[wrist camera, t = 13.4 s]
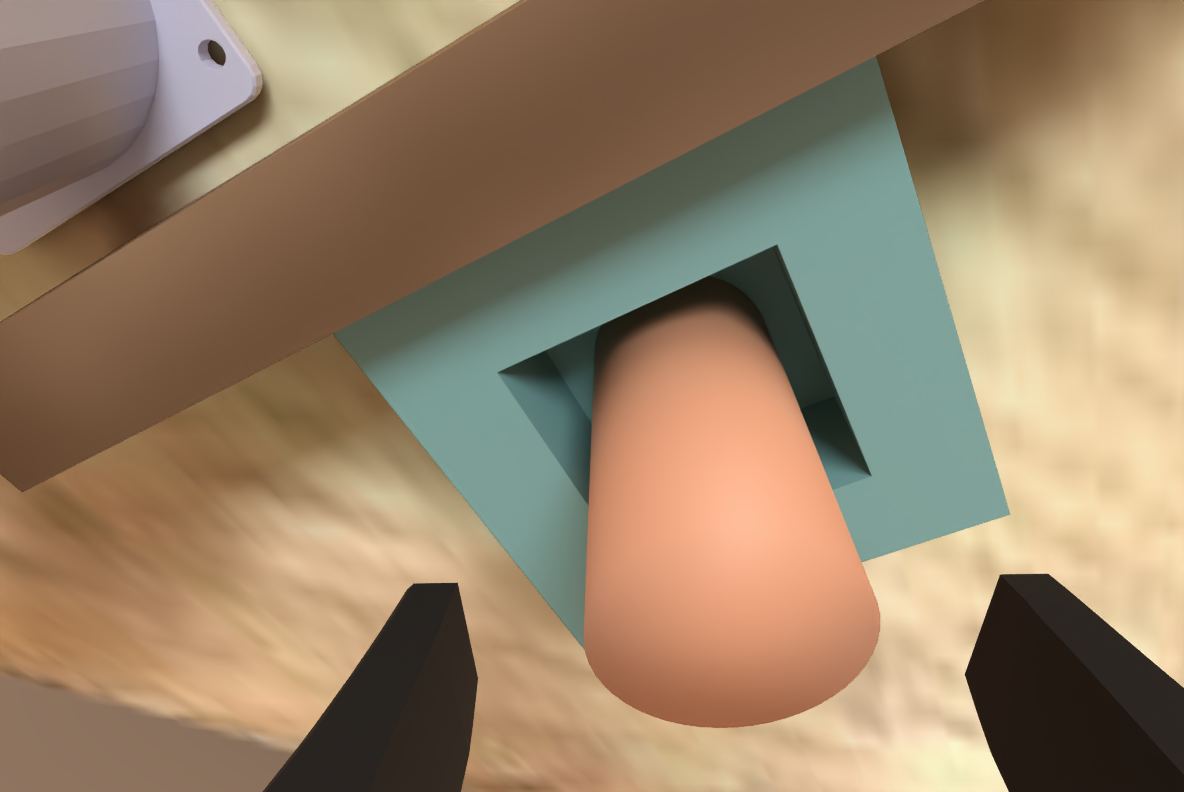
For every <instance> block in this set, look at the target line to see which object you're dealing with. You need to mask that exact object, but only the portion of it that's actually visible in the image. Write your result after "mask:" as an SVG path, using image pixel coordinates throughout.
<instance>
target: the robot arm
mask: <svg viewBox="0 0 1184 792" xmlns="http://www.w3.org/2000/svg"><path fill="white" fill-rule="evenodd" d="M210 40H213V41H216V42H217V43H218V44H219V45H220V46H221V47H222V48H223V50H224V52H225V54H226V63H225V64H224V65H223V66H222V65H219V64H217V63H216V62H215V61H214V60H212V59H211V57H210V55H209V52H208V43H209V41H210ZM262 86H263V81H262V74H261V72H260V70H259V68H258V66H257V64H256V62H255V61H254V59H253V58H252V56H251V55H250V54H249V52H248V51H247V49H246V48H245V47H244V45H243V44H242V42H241V41H240V39H239V38H238V37H237V35H236V34H235V32H234V31H233V29H232V28H231V27H230V25H229V24H228V22H227V21H226V20H225V18H224V17H223V15H222V14H221V12H220V11H219V10H218V8H217V7H216V5H215V4H214V3H213V1H212V0H0V254H3V255H11V254H14V253H17V252H18V251H20V250H22V249H24V248H26V247H27V246H29V245H30V244H32V243H33V242H35V241H37V240H38V239H40V238H41V237H43V236H44V235H46V234H47V233H49V232H51V231H52V230H54V229H55V228H57V227H58V226H60V225H61V224H63V223H64V222H66V221H68V220H69V219H71V218H72V217H74V216H75V215H77V214H78V213H80V212H81V211H83V210H85V209H86V208H88V207H89V206H91V205H92V204H94V203H95V202H97V201H98V200H100V199H102V198H103V197H105V196H106V195H108V194H109V193H111V192H112V191H114V190H115V189H117V188H119V187H120V186H122V185H123V184H125V183H126V182H128V181H129V180H131V179H132V178H134V177H136V176H137V175H139V174H140V173H142V172H143V171H145V170H146V169H148V168H149V167H151V166H153V165H154V164H156V163H157V162H159V161H160V160H162V159H163V158H165V157H166V156H168V155H170V154H171V153H173V152H174V151H176V150H177V149H179V148H180V147H182V146H183V145H185V144H187V143H188V142H190V141H191V140H193V139H194V138H196V137H197V136H199V135H200V134H202V133H204V132H205V131H207V130H208V129H210V128H211V127H213V126H214V125H216V124H217V123H219V122H221V121H222V120H224V119H225V118H227V117H228V116H230V115H231V114H233V113H235V112H236V111H238V110H239V109H241V108H242V107H244V106H245V105H247V104H248V103H250V102H252V101H253V100H255V99H256V97H257V96H258V95H259V94H260V93H261V89H262ZM965 676H966V679H967V683H968V686H969V689H970V692H971V695H972V698H973V701H974V705H975V708H976V711H977V714H978V717H979V720H980V723H981V726H982V728H983V731H984V734H985V737H986V740H987V743H988V745H989V748H990V751H991V754H992V756H993V758H994V760H995V762H996V765H997V767H998V769H999V771H1000V773H1001V776H1002V778H1003V780H1004V782H1005V784H1006V786H1007V788H1008V791H1009V792H1184V688H1183V687H1182V686H1181V685H1180V684H1178V683H1177V682H1176V681H1175V680H1174V679H1172V678H1171V677H1170V676H1169V675H1168V674H1166V673H1165V672H1164V671H1163V670H1162V669H1160V668H1159V667H1158V666H1157V665H1156V664H1154V663H1153V662H1152V661H1151V660H1150V659H1149V658H1147V657H1146V656H1145V655H1144V654H1143V653H1142V652H1140V651H1139V650H1138V649H1137V648H1136V647H1134V646H1133V645H1132V644H1131V643H1130V642H1129V641H1127V640H1126V639H1125V638H1124V637H1123V636H1122V635H1120V634H1119V633H1118V632H1117V631H1116V630H1115V629H1113V628H1112V627H1111V626H1110V625H1109V624H1107V623H1106V622H1105V621H1104V620H1103V619H1102V618H1100V617H1099V616H1098V615H1097V614H1096V613H1095V612H1093V611H1092V610H1091V609H1090V608H1089V607H1088V606H1086V605H1085V604H1084V603H1083V602H1082V601H1080V600H1079V599H1078V598H1077V597H1076V596H1075V595H1073V594H1072V593H1071V592H1070V591H1069V590H1067V589H1066V588H1065V587H1064V586H1063V585H1061V584H1060V583H1059V582H1058V581H1056V580H1055V579H1054V578H1053V577H1051V576H1050V575H1049V574H1004V575H1000V577H999V579H998V582H997V585H996V588H995V591H994V593H993V596H992V599H991V602H990V605H989V608H988V610H987V613H986V616H985V619H984V622H983V625H982V627H981V630H980V633H979V636H978V639H977V641H976V644H975V647H974V650H973V653H972V656H971V658H970V661H969V664H968V667H967V670H966V672H965ZM477 682H478V677H477V672H476V667H475V662H474V658H473V653H472V648H471V644H470V639H469V634H468V630H467V625H466V620H465V615H464V611H463V606H462V601H461V597H460V592H459V587H458V583H422V584H413V585H412V586H411V587H409V588H408V589H407V591H406V592H405V594H404V595H403V597H402V599H401V600H400V602H399V603H398V605H397V606H396V608H395V610H394V611H393V613H392V614H391V616H390V617H389V619H388V620H387V622H386V624H385V625H384V627H383V628H382V630H381V631H380V633H379V634H378V636H377V637H376V639H375V640H374V642H373V643H372V645H371V646H370V648H369V649H368V651H367V652H366V654H365V655H364V657H363V658H362V659H361V661H360V662H359V664H358V665H357V667H356V668H355V670H354V671H353V673H352V674H351V676H350V677H349V678H348V680H347V681H346V683H345V684H344V685H343V687H342V688H341V689H340V691H339V692H338V694H337V695H336V696H335V698H334V699H333V701H332V702H331V703H330V705H329V706H328V707H327V709H326V710H325V712H324V713H323V714H322V716H321V717H320V719H319V720H318V721H317V723H316V724H315V725H314V727H313V728H312V729H311V731H310V732H309V734H308V735H307V736H306V737H305V739H304V740H303V741H302V743H301V744H300V745H299V747H298V748H297V749H296V750H295V752H294V753H293V754H292V755H291V757H290V758H289V759H288V760H287V762H286V763H285V764H284V766H283V767H282V768H281V769H280V771H279V772H278V773H277V775H276V776H275V777H274V778H273V779H272V781H271V782H270V783H269V785H268V786H267V787H266V788H265V790H264V791H263V792H461V788H462V784H463V779H464V775H465V770H466V766H467V761H468V757H469V750H470V742H471V734H472V727H473V719H474V710H475V701H476V692H477Z"/></svg>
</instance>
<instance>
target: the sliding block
mask: <svg viewBox="0 0 1184 792" xmlns="http://www.w3.org/2000/svg"><path fill="white" fill-rule="evenodd" d="M707 276H712V277H715V278H719V279H722V280H724V281H726V282H728V283H730V284H732V285H734V286H735V287H737V288H738V289H740V290H741V291H743V292H744V293H745V294H746V295H747V296H748V297H749V298H750V299H751V300H752V301H753V302H754V303H755V304H756V306H757V307H758V309H759V310H760V312H761V314H762V315H763V318H764V320H765V322H766V325H767V327H768V330H769V332H770V335H771V337H772V340H773V342H774V345H775V347H776V350H777V352H778V355H779V357H780V360H781V362H782V365H783V367H784V370H785V372H786V375H787V377H788V380H789V382H790V385H791V387H792V390H793V392H794V395H795V397H796V400H797V402H798V405H799V407H800V410H801V412H802V415H803V417H804V420H805V422H806V425H807V427H808V430H809V432H810V435H811V437H812V440H813V442H814V445H815V447H816V450H817V452H818V455H819V457H820V460H821V462H822V465H823V467H824V470H825V472H826V475H827V478H828V480H829V483H830V485H831V488H832V490H833V493H834V495H835V498H836V500H837V503H838V505H839V508H840V510H841V513H842V515H843V518H844V520H845V523H846V525H847V528H848V530H849V533H850V535H851V538H852V540H853V543H854V545H855V548H856V550H857V553H858V555H859V558H860V560H861V562H864V561H867V560H870V559H873V558H876V557H879V556H883V555H886V554H889V553H892V552H895V551H898V550H901V549H904V548H907V547H911V546H914V545H917V544H920V543H923V542H926V541H929V540H932V539H935V538H939V537H942V536H945V535H948V534H951V533H954V532H957V531H960V530H963V529H967V528H970V527H973V526H976V525H979V524H982V523H985V522H988V521H991V520H995V519H998V518H1001V517H1004V516H1007V515H1010V512H1009V509H1008V505H1007V502H1006V498H1005V495H1004V492H1003V488H1002V485H1001V481H1000V478H999V474H998V471H997V468H996V464H995V461H994V457H993V454H992V450H991V447H990V444H989V440H988V437H987V433H986V430H985V427H984V423H983V420H982V416H981V413H980V409H979V406H978V403H977V399H976V396H975V392H974V389H973V385H972V382H971V379H970V375H969V372H968V368H967V365H966V362H965V358H964V355H963V351H962V348H961V344H960V341H959V338H958V334H957V331H956V327H955V324H954V320H953V317H952V314H951V310H950V307H949V303H948V300H947V297H946V293H945V290H944V286H943V283H942V279H941V276H940V273H939V269H938V266H937V262H936V259H935V255H934V252H933V249H932V245H931V242H930V238H929V235H928V231H927V228H926V225H925V221H924V218H923V214H922V211H921V208H920V204H919V201H918V197H917V194H916V190H915V187H914V184H913V180H912V177H911V173H910V170H909V166H908V163H907V160H906V156H905V153H904V149H903V146H902V143H901V139H900V136H899V132H898V129H897V125H896V122H895V119H894V115H893V112H892V108H891V105H890V101H889V98H888V95H887V91H886V88H885V84H884V81H883V78H882V74H881V71H880V67H879V64H878V60H877V57H876V56H875V57H873V58H871V59H869V60H867V61H865V62H863V63H861V64H859V65H857V66H855V67H853V68H851V69H849V70H847V71H845V72H843V73H841V74H839V75H837V76H835V77H833V78H832V79H830V80H828V81H826V82H824V83H822V84H820V85H818V86H816V87H814V88H812V89H810V90H808V91H806V92H804V93H802V94H800V95H798V96H796V97H794V98H792V99H790V100H788V101H787V102H785V103H783V104H781V105H779V106H777V107H775V108H773V109H771V110H769V111H767V112H765V113H763V114H761V115H759V116H757V117H755V118H753V119H751V120H749V121H747V122H745V123H743V124H742V125H740V126H738V127H736V128H734V129H732V130H730V131H728V132H726V133H724V134H722V135H720V136H718V137H716V138H714V139H712V140H710V141H708V142H706V143H704V144H702V145H700V146H698V147H697V148H695V149H693V150H691V151H689V152H687V153H685V154H683V155H681V156H679V157H677V158H675V159H673V160H671V161H669V162H667V163H665V164H663V165H661V166H659V167H657V168H655V169H654V170H652V171H650V172H648V173H646V174H644V175H642V176H640V177H638V178H636V179H634V180H632V181H630V182H628V183H626V184H624V185H622V186H620V187H618V188H616V189H614V190H612V191H610V192H609V193H607V194H605V195H603V196H601V197H599V198H597V199H595V200H593V201H591V202H589V203H587V204H585V205H583V206H581V207H579V208H577V209H575V210H573V211H571V212H569V213H567V214H565V215H564V216H562V217H560V218H558V219H556V220H554V221H552V222H550V223H548V224H546V225H544V226H542V227H540V228H538V229H536V230H534V231H532V232H530V233H528V234H526V235H524V236H522V237H520V238H519V239H517V240H515V241H513V242H511V243H509V244H507V245H505V246H503V247H501V248H499V249H497V250H495V251H493V252H491V253H489V254H487V255H485V256H483V257H481V258H479V259H477V260H475V261H474V262H472V263H470V264H468V265H466V266H464V267H462V268H460V269H458V270H456V271H454V272H452V273H450V274H448V275H446V276H444V277H442V278H440V279H438V280H436V281H434V282H432V283H431V284H429V285H427V286H425V287H423V288H421V289H419V290H417V291H415V292H413V293H411V294H409V295H407V296H405V297H403V298H401V299H399V300H397V301H395V302H393V303H391V304H389V305H387V306H386V307H384V308H382V309H380V310H378V311H376V312H374V313H372V314H370V315H368V316H366V317H364V318H362V319H360V320H358V321H356V322H354V323H352V324H350V325H348V326H346V327H344V328H342V329H341V330H339V331H337V332H335V333H333V334H334V336H335V337H336V338H337V339H338V341H339V342H340V343H341V344H342V346H343V347H344V348H345V349H346V351H347V352H348V353H349V354H350V356H351V357H352V358H353V359H354V361H355V362H356V363H357V364H358V366H359V367H360V368H361V370H362V371H363V372H364V373H365V375H366V376H367V377H368V378H369V380H370V381H371V382H372V383H373V385H374V386H375V387H376V388H377V390H378V391H379V392H380V393H381V395H382V396H383V397H384V398H385V400H386V401H387V402H388V403H389V405H390V406H391V407H392V408H393V410H394V411H395V412H396V413H397V415H398V416H399V417H400V419H401V420H402V421H403V422H404V424H405V425H406V426H407V427H408V429H409V430H410V431H411V432H412V434H413V435H414V436H415V437H416V439H417V440H418V441H419V442H420V444H421V445H422V446H423V447H424V449H425V450H426V451H427V452H428V454H429V455H430V456H431V457H432V459H433V460H434V461H435V463H436V464H437V465H438V466H439V468H440V469H441V470H442V471H443V473H444V474H445V475H446V476H447V478H448V479H449V480H450V481H451V483H452V484H453V485H454V486H455V488H456V489H457V490H458V491H459V493H460V494H461V495H462V496H463V498H464V499H465V500H466V501H467V503H468V504H469V505H470V506H471V508H472V509H473V510H474V512H475V513H476V514H477V515H478V517H479V518H480V519H481V520H482V522H483V523H484V524H485V525H486V527H487V528H488V529H489V530H490V532H491V533H492V534H493V535H494V537H495V538H496V539H497V540H498V542H499V543H500V544H501V545H502V547H503V548H504V549H505V550H506V552H507V553H508V554H509V555H510V557H511V558H512V559H513V561H514V562H515V563H516V564H517V566H518V567H519V568H520V569H521V571H522V572H523V573H524V574H525V576H526V577H527V578H528V579H529V581H530V582H531V583H532V584H533V586H534V587H535V588H536V589H537V591H538V592H539V593H540V594H541V596H542V597H543V598H544V599H545V601H546V602H547V603H548V604H549V606H550V607H551V608H552V610H553V611H554V612H555V613H556V615H557V616H558V617H559V618H560V620H561V621H562V622H563V623H564V625H565V626H566V627H567V628H568V630H569V631H570V632H571V633H572V635H573V636H574V637H575V638H576V640H577V641H578V642H579V643H580V645H581V646H582V647H583V648H584V650H585V647H584V639H583V638H584V612H585V587H586V561H587V535H588V509H589V483H590V458H591V432H592V406H593V380H594V354H595V343H596V338H597V334H598V331H599V328H600V326H601V325H602V324H604V323H606V322H608V321H611V320H613V319H615V318H617V317H619V316H622V315H624V314H626V313H628V312H630V311H632V310H635V309H637V308H639V307H641V306H643V305H646V304H648V303H650V302H652V301H654V300H657V299H659V298H661V297H663V296H665V295H667V294H670V293H672V292H674V291H676V290H678V289H681V288H683V287H685V286H687V285H689V284H692V283H694V282H696V281H698V280H700V279H703V278H705V277H707Z"/></svg>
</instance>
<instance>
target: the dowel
mask: <svg viewBox="0 0 1184 792" xmlns="http://www.w3.org/2000/svg"><path fill="white" fill-rule="evenodd" d="M879 632H880V612H879V608H878V603H877V600H876V598H875V595H874V593H873V590H872V588H871V585H870V583H869V580H868V578H867V575H866V573H865V570H864V568H863V565H862V563H861V560H860V558H859V555H858V553H857V550H856V548H855V545H854V543H853V540H852V538H851V535H850V533H849V530H848V528H847V525H846V523H845V520H844V518H843V515H842V513H841V510H840V508H839V505H838V503H837V500H836V498H835V495H834V493H833V490H832V488H831V485H830V483H829V480H828V478H827V475H826V472H825V470H824V467H823V465H822V462H821V460H820V457H819V455H818V452H817V450H816V447H815V445H814V442H813V440H812V437H811V435H810V432H809V430H808V427H807V425H806V422H805V420H804V417H803V415H802V412H801V410H800V407H799V405H798V402H797V400H796V397H795V395H794V392H793V390H792V387H791V385H790V382H789V380H788V377H787V375H786V372H785V370H784V367H783V365H782V362H781V360H780V357H779V355H778V352H777V350H776V347H775V345H774V342H773V340H772V337H771V335H770V332H769V330H768V327H767V325H766V322H765V320H764V318H763V315H762V314H761V312H760V310H759V309H758V307H757V306H756V304H755V303H754V302H753V301H752V300H751V299H750V298H749V297H748V296H747V295H746V294H745V293H744V292H743V291H741V290H740V289H738V288H737V287H735V286H734V285H732V284H730V283H728V282H726V281H724V280H722V279H719V278H715V277H712V276H707V277H705V278H703V279H700V280H698V281H696V282H694V283H692V284H689V285H687V286H685V287H683V288H681V289H678V290H676V291H674V292H672V293H670V294H667V295H665V296H663V297H661V298H659V299H657V300H654V301H652V302H650V303H648V304H646V305H643V306H641V307H639V308H637V309H635V310H632V311H630V312H628V313H626V314H624V315H622V316H619V317H617V318H615V319H613V320H611V321H608V322H606V323H604V324H602V325H601V326H600V328H599V331H598V334H597V338H596V343H595V354H594V380H593V406H592V432H591V458H590V483H589V509H588V535H587V561H586V587H585V612H584V638H583V639H584V647H585V653H586V656H587V659H588V662H589V664H590V666H591V668H592V670H593V671H594V673H595V675H596V676H597V677H598V679H599V680H600V681H601V683H602V684H603V685H604V686H605V687H606V688H607V689H608V690H609V691H610V692H611V693H612V694H614V695H615V696H616V697H618V698H619V699H620V700H622V701H623V702H625V703H626V704H628V705H630V706H632V707H633V708H635V709H637V710H639V711H641V712H644V713H646V714H648V715H651V716H653V717H656V718H660V719H663V720H666V721H670V722H674V723H679V724H683V725H690V726H698V727H713V728H728V727H743V726H753V725H758V724H764V723H769V722H773V721H777V720H781V719H784V718H788V717H791V716H793V715H796V714H799V713H802V712H804V711H806V710H808V709H811V708H813V707H815V706H817V705H819V704H821V703H822V702H824V701H826V700H828V699H829V698H831V697H833V696H834V695H835V694H837V693H838V692H839V691H841V690H842V689H844V688H845V687H846V686H847V685H848V684H849V683H850V682H851V681H852V680H854V679H855V678H856V677H857V675H858V674H859V673H860V672H861V671H862V669H863V668H864V667H865V666H866V664H867V662H868V661H869V659H870V657H871V656H872V654H873V652H874V649H875V647H876V644H877V642H878V637H879Z"/></svg>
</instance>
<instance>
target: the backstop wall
mask: <svg viewBox="0 0 1184 792" xmlns="http://www.w3.org/2000/svg"><path fill="white" fill-rule="evenodd" d="M982 1H984V0H520V1H519V2H517V3H516V4H514V5H512V6H511V7H509V8H507V9H506V10H504V11H503V12H501V13H499V14H498V15H496V16H494V17H493V18H491V19H489V20H488V21H486V22H485V23H483V24H481V25H480V26H478V27H476V28H475V29H473V30H472V31H470V32H468V33H467V34H465V35H463V36H462V37H460V38H459V39H457V40H455V41H454V42H452V43H450V44H449V45H447V46H446V47H444V48H442V49H441V50H439V51H437V52H436V53H434V54H433V55H431V56H429V57H428V58H426V59H424V60H423V61H421V62H420V63H418V64H416V65H415V66H413V67H411V68H410V69H408V70H407V71H405V72H403V73H402V74H400V75H398V76H397V77H395V78H394V79H392V80H390V81H389V82H387V83H385V84H384V85H382V86H381V87H379V88H377V89H376V90H374V91H372V92H371V93H369V94H368V95H366V96H364V97H363V98H361V99H359V100H358V101H356V102H355V103H353V104H351V105H350V106H348V107H346V108H345V109H343V110H341V111H340V112H338V113H337V114H335V115H333V116H332V117H330V118H328V119H327V120H325V121H324V122H322V123H320V124H319V125H317V126H315V127H314V128H312V129H311V130H309V131H307V132H306V133H304V134H302V135H301V136H299V137H298V138H296V139H294V140H293V141H291V142H289V143H288V144H286V145H285V146H283V147H281V148H280V149H278V150H276V151H275V152H273V153H272V154H270V155H268V156H267V157H265V158H263V159H262V160H260V161H259V162H257V163H255V164H254V165H252V166H250V167H249V168H247V169H246V170H244V171H242V172H241V173H239V174H237V175H236V176H234V177H233V178H231V179H229V180H228V181H226V182H224V183H223V184H221V185H220V186H218V187H216V188H215V189H213V190H211V191H210V192H208V193H206V194H205V195H203V196H202V197H200V198H198V199H197V200H195V201H193V202H192V203H190V204H189V205H187V206H185V207H184V208H182V209H180V210H179V211H177V212H176V213H174V214H172V215H171V216H169V217H167V218H166V219H164V220H163V221H161V222H159V223H158V224H156V225H154V226H153V227H151V228H150V229H148V230H146V231H145V232H143V233H141V234H140V235H138V236H137V237H135V238H133V239H132V240H130V241H128V242H127V243H125V244H124V245H122V246H120V247H119V248H117V249H115V250H114V251H112V252H111V253H109V254H107V255H106V256H104V257H103V258H101V259H99V260H98V261H96V262H95V263H93V264H91V265H90V266H88V267H87V268H85V269H84V270H82V271H80V272H79V273H77V274H76V275H74V276H72V277H71V278H69V279H68V280H66V281H64V282H63V283H61V284H60V285H58V286H57V287H55V288H53V289H52V290H50V291H49V292H47V293H45V294H44V295H42V296H41V297H39V298H37V299H36V300H34V301H33V302H31V303H30V304H28V305H26V306H25V307H23V308H22V309H20V310H18V311H17V312H15V313H14V314H12V315H10V316H9V317H7V318H6V319H4V320H3V321H1V322H0V474H1V475H2V476H3V477H5V478H6V479H7V480H8V481H9V482H11V483H12V484H13V485H14V486H15V487H17V488H18V489H19V490H20V491H21V492H24V491H26V490H28V489H29V488H31V487H33V486H35V485H37V484H39V483H41V482H43V481H45V480H47V479H49V478H51V477H53V476H55V475H57V474H59V473H61V472H63V471H65V470H67V469H69V468H71V467H73V466H74V465H76V464H78V463H80V462H82V461H84V460H86V459H88V458H90V457H92V456H94V455H96V454H98V453H100V452H102V451H104V450H106V449H108V448H110V447H112V446H114V445H116V444H118V443H119V442H121V441H123V440H125V439H127V438H129V437H131V436H133V435H135V434H137V433H139V432H141V431H143V430H145V429H147V428H149V427H151V426H153V425H155V424H157V423H159V422H161V421H163V420H164V419H166V418H168V417H170V416H172V415H174V414H176V413H178V412H180V411H182V410H184V409H186V408H188V407H190V406H192V405H194V404H196V403H198V402H200V401H202V400H204V399H206V398H207V397H209V396H211V395H213V394H215V393H217V392H219V391H221V390H223V389H225V388H227V387H229V386H231V385H233V384H235V383H237V382H239V381H241V380H243V379H245V378H247V377H249V376H251V375H252V374H254V373H256V372H258V371H260V370H262V369H264V368H266V367H268V366H270V365H272V364H274V363H276V362H278V361H280V360H282V359H284V358H286V357H288V356H290V355H292V354H294V353H296V352H297V351H299V350H301V349H303V348H305V347H307V346H309V345H311V344H313V343H315V342H317V341H319V340H321V339H323V338H325V337H327V336H329V335H331V334H333V333H335V332H337V331H339V330H341V329H342V328H344V327H346V326H348V325H350V324H352V323H354V322H356V321H358V320H360V319H362V318H364V317H366V316H368V315H370V314H372V313H374V312H376V311H378V310H380V309H382V308H384V307H386V306H387V305H389V304H391V303H393V302H395V301H397V300H399V299H401V298H403V297H405V296H407V295H409V294H411V293H413V292H415V291H417V290H419V289H421V288H423V287H425V286H427V285H429V284H431V283H432V282H434V281H436V280H438V279H440V278H442V277H444V276H446V275H448V274H450V273H452V272H454V271H456V270H458V269H460V268H462V267H464V266H466V265H468V264H470V263H472V262H474V261H475V260H477V259H479V258H481V257H483V256H485V255H487V254H489V253H491V252H493V251H495V250H497V249H499V248H501V247H503V246H505V245H507V244H509V243H511V242H513V241H515V240H517V239H519V238H520V237H522V236H524V235H526V234H528V233H530V232H532V231H534V230H536V229H538V228H540V227H542V226H544V225H546V224H548V223H550V222H552V221H554V220H556V219H558V218H560V217H562V216H564V215H565V214H567V213H569V212H571V211H573V210H575V209H577V208H579V207H581V206H583V205H585V204H587V203H589V202H591V201H593V200H595V199H597V198H599V197H601V196H603V195H605V194H607V193H609V192H610V191H612V190H614V189H616V188H618V187H620V186H622V185H624V184H626V183H628V182H630V181H632V180H634V179H636V178H638V177H640V176H642V175H644V174H646V173H648V172H650V171H652V170H654V169H655V168H657V167H659V166H661V165H663V164H665V163H667V162H669V161H671V160H673V159H675V158H677V157H679V156H681V155H683V154H685V153H687V152H689V151H691V150H693V149H695V148H697V147H698V146H700V145H702V144H704V143H706V142H708V141H710V140H712V139H714V138H716V137H718V136H720V135H722V134H724V133H726V132H728V131H730V130H732V129H734V128H736V127H738V126H740V125H742V124H743V123H745V122H747V121H749V120H751V119H753V118H755V117H757V116H759V115H761V114H763V113H765V112H767V111H769V110H771V109H773V108H775V107H777V106H779V105H781V104H783V103H785V102H787V101H788V100H790V99H792V98H794V97H796V96H798V95H800V94H802V93H804V92H806V91H808V90H810V89H812V88H814V87H816V86H818V85H820V84H822V83H824V82H826V81H828V80H830V79H832V78H833V77H835V76H837V75H839V74H841V73H843V72H845V71H847V70H849V69H851V68H853V67H855V66H857V65H859V64H861V63H863V62H865V61H867V60H869V59H871V58H873V57H875V56H877V55H878V54H880V53H882V52H884V51H886V50H888V49H890V48H892V47H894V46H896V45H898V44H900V43H902V42H904V41H906V40H908V39H910V38H912V37H914V36H916V35H918V34H920V33H921V32H923V31H925V30H927V29H929V28H931V27H933V26H935V25H937V24H939V23H941V22H943V21H945V20H947V19H949V18H951V17H953V16H955V15H957V14H959V13H961V12H963V11H965V10H966V9H968V8H970V7H972V6H974V5H976V4H978V3H980V2H982Z"/></svg>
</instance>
